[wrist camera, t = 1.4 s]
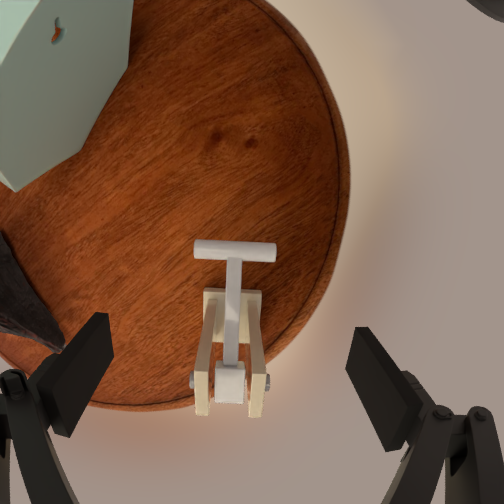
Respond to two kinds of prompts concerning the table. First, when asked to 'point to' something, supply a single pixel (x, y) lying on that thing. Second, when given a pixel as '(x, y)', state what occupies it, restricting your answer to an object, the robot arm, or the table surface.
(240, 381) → the faucet handle
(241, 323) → the faucet bracket
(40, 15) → the planter
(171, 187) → the table surface
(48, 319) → the rock
